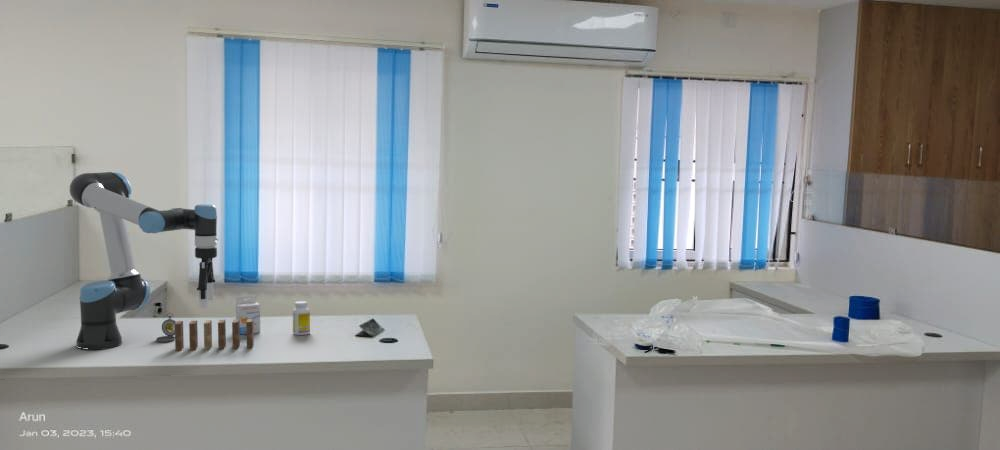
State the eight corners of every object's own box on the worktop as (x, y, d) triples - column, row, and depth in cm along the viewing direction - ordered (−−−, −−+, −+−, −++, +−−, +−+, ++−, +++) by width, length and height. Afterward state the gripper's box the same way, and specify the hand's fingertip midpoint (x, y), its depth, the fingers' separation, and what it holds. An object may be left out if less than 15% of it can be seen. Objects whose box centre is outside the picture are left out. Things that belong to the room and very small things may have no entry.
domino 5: (246, 348, 293) (246, 322, 292) (248, 345, 298) (247, 319, 297) (252, 348, 294) (251, 321, 293) (253, 344, 299) (253, 318, 298)
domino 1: (175, 350, 288) (174, 324, 287) (178, 347, 293) (177, 321, 292) (181, 350, 289) (180, 323, 288) (183, 347, 294) (183, 320, 293)
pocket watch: (157, 343, 299) (156, 317, 298) (155, 338, 306) (154, 313, 305) (180, 341, 302) (179, 315, 301) (178, 336, 310) (177, 311, 309)
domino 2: (189, 350, 289) (189, 323, 288) (192, 346, 294) (191, 320, 293) (195, 350, 290) (194, 323, 289) (197, 346, 295) (197, 320, 294)
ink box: (239, 335, 313) (238, 298, 312) (236, 332, 318) (235, 296, 316) (260, 332, 318) (260, 296, 317) (257, 330, 322) (256, 294, 321)
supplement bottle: (313, 332, 319) (313, 301, 318) (302, 336, 313) (302, 304, 312) (300, 331, 322) (299, 300, 320) (289, 334, 316) (289, 302, 314)
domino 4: (232, 348, 292) (232, 322, 291) (234, 345, 297) (233, 319, 296) (238, 348, 293) (237, 322, 292) (239, 345, 298) (239, 319, 297)
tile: (204, 349, 290) (203, 323, 289) (206, 346, 295) (205, 320, 294) (210, 349, 291) (209, 323, 290) (212, 346, 296) (211, 320, 295)
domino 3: (218, 349, 291) (217, 322, 290) (220, 345, 296) (219, 319, 295) (224, 349, 292) (223, 322, 291) (225, 345, 297) (225, 319, 296)
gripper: (211, 251, 278) (212, 310, 280) (221, 242, 302) (221, 296, 304) (189, 251, 276) (189, 311, 279) (200, 242, 301) (201, 297, 303)
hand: (206, 303), depth 291 cm, fingers open, 13 cm apart
